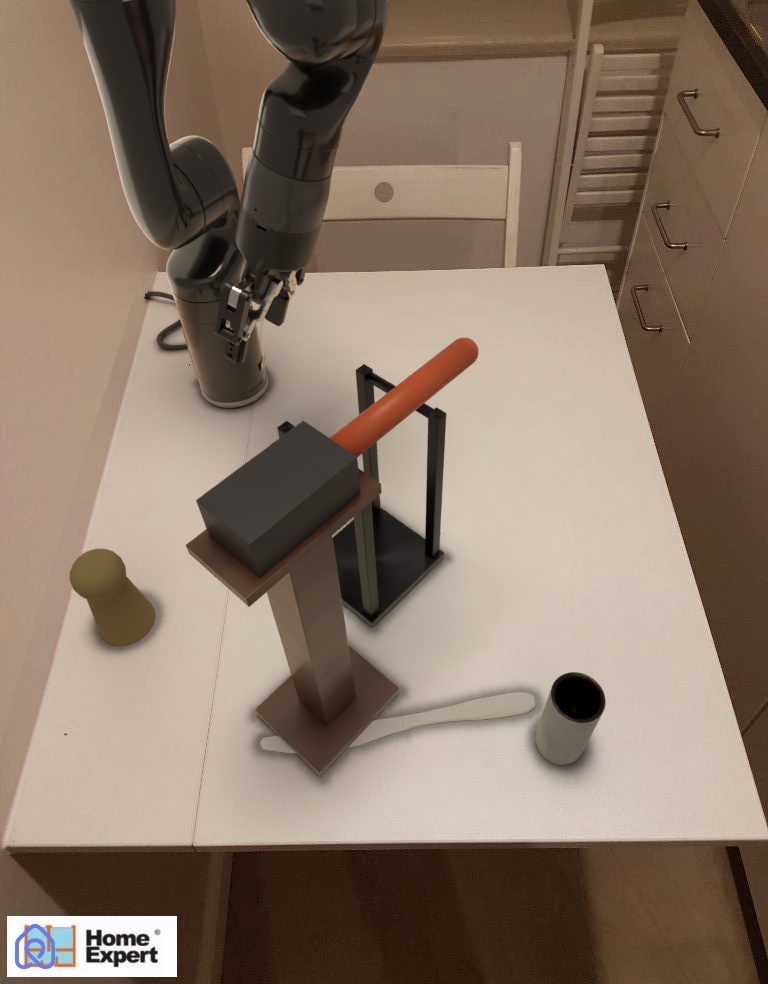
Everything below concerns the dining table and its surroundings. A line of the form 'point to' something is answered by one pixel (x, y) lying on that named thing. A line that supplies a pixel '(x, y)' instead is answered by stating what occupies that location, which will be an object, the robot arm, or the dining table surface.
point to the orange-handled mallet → (313, 471)
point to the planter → (569, 717)
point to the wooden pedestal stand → (310, 640)
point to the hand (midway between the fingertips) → (254, 340)
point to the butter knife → (432, 718)
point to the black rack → (388, 525)
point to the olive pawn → (112, 597)
